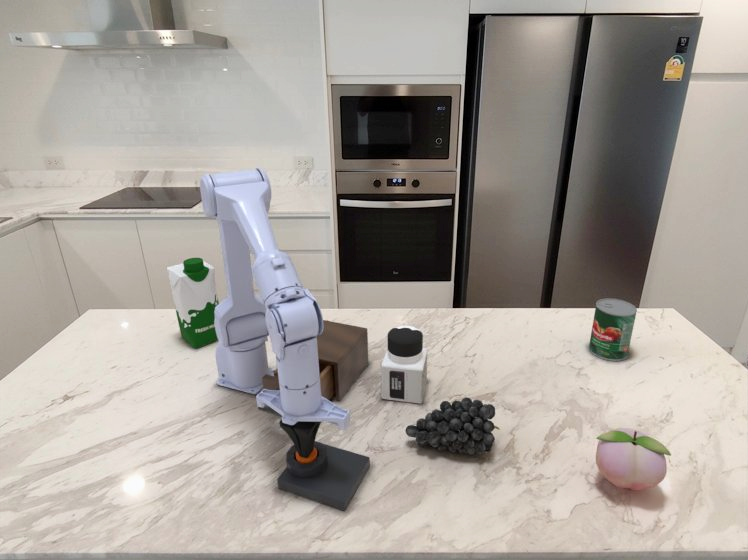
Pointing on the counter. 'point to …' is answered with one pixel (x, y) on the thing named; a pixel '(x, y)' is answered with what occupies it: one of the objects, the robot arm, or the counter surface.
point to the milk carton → (195, 300)
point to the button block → (325, 475)
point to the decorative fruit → (631, 459)
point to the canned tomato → (612, 329)
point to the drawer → (325, 383)
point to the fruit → (457, 427)
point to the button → (310, 459)
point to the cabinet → (343, 353)
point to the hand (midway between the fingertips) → (306, 452)
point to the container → (404, 366)
